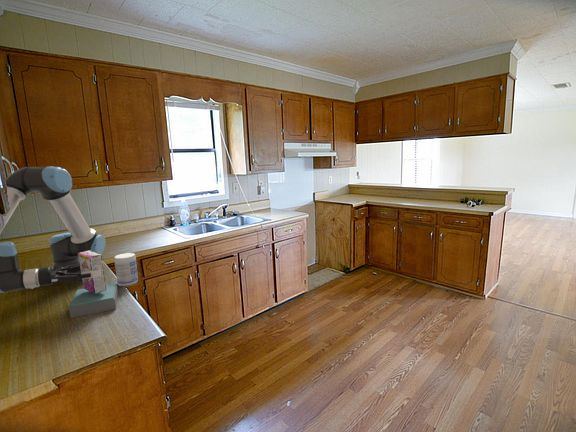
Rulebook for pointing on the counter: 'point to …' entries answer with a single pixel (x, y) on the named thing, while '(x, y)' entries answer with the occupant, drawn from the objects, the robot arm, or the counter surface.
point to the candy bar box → (91, 263)
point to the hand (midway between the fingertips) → (102, 268)
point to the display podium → (93, 301)
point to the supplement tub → (126, 269)
